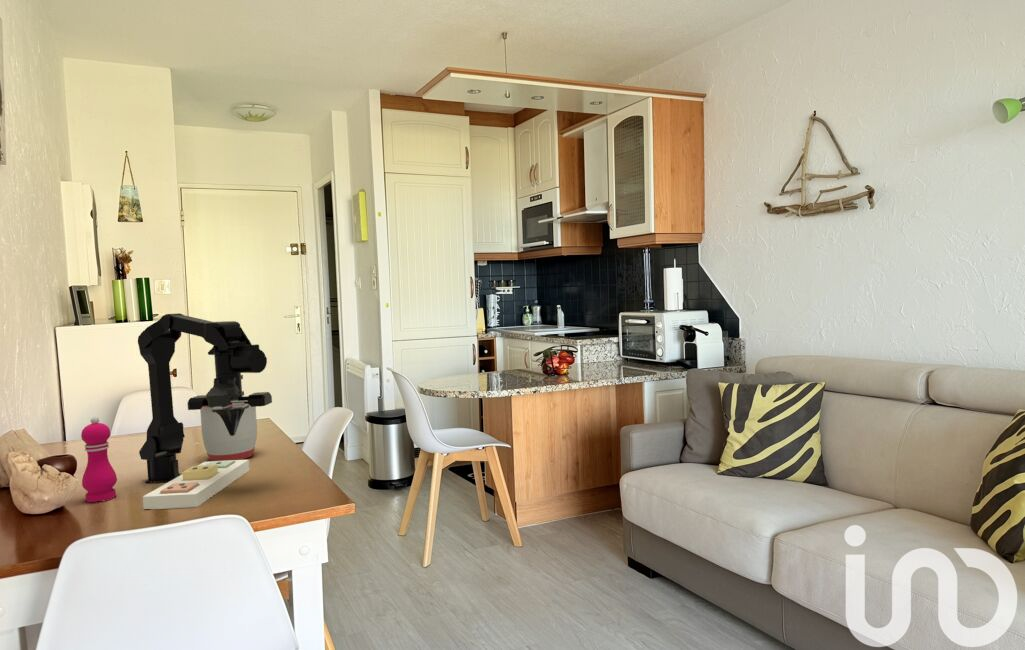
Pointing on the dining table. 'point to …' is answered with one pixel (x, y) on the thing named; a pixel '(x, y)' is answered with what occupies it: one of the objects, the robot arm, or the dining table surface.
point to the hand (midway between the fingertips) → (232, 435)
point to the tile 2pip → (200, 472)
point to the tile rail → (197, 494)
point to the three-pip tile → (179, 488)
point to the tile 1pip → (222, 463)
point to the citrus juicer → (228, 435)
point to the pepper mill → (98, 463)
